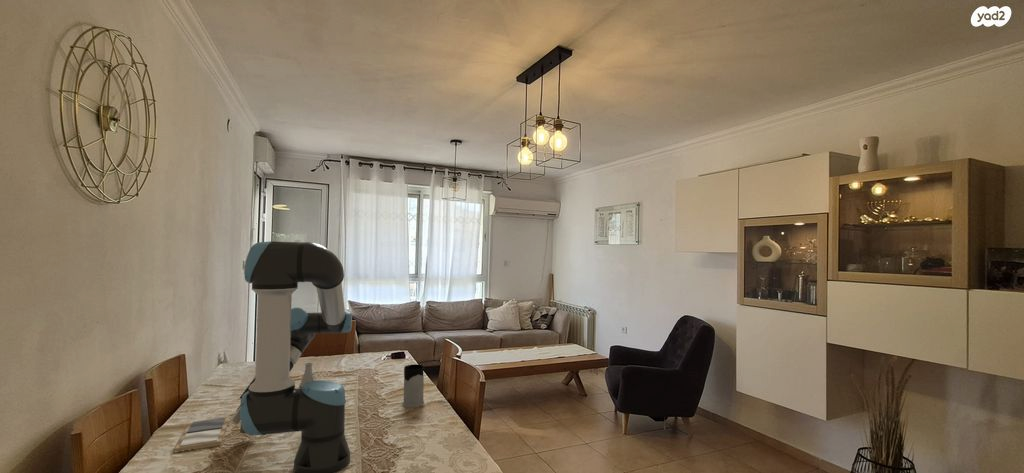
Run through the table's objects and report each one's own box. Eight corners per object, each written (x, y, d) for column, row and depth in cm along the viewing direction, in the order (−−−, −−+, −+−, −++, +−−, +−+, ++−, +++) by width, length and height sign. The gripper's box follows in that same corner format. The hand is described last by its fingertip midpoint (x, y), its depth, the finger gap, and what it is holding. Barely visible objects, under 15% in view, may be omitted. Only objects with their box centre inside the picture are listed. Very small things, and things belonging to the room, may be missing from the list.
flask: (299, 384, 203) (300, 362, 203) (316, 382, 206) (317, 360, 206) (299, 388, 196) (299, 366, 196) (316, 386, 199) (317, 364, 199)
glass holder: (407, 409, 173) (408, 370, 173) (394, 399, 184) (394, 363, 185) (428, 404, 178) (428, 367, 178) (413, 395, 189) (414, 360, 190)
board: (221, 445, 140) (221, 440, 140) (174, 452, 134) (174, 447, 134) (229, 420, 159) (229, 416, 159) (189, 426, 154) (189, 421, 154)
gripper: (259, 352, 157) (212, 414, 141) (298, 356, 151) (254, 421, 135) (271, 363, 162) (227, 425, 146) (310, 368, 156) (268, 433, 140)
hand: (240, 423), depth 140 cm, fingers closed on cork, 5 cm apart
